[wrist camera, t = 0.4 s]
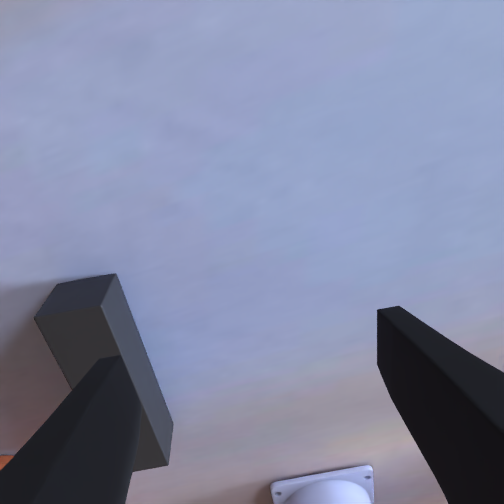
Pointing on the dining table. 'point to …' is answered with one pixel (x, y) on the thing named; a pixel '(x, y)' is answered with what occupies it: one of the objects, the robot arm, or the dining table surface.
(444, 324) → the dining table surface
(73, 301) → the black bar
